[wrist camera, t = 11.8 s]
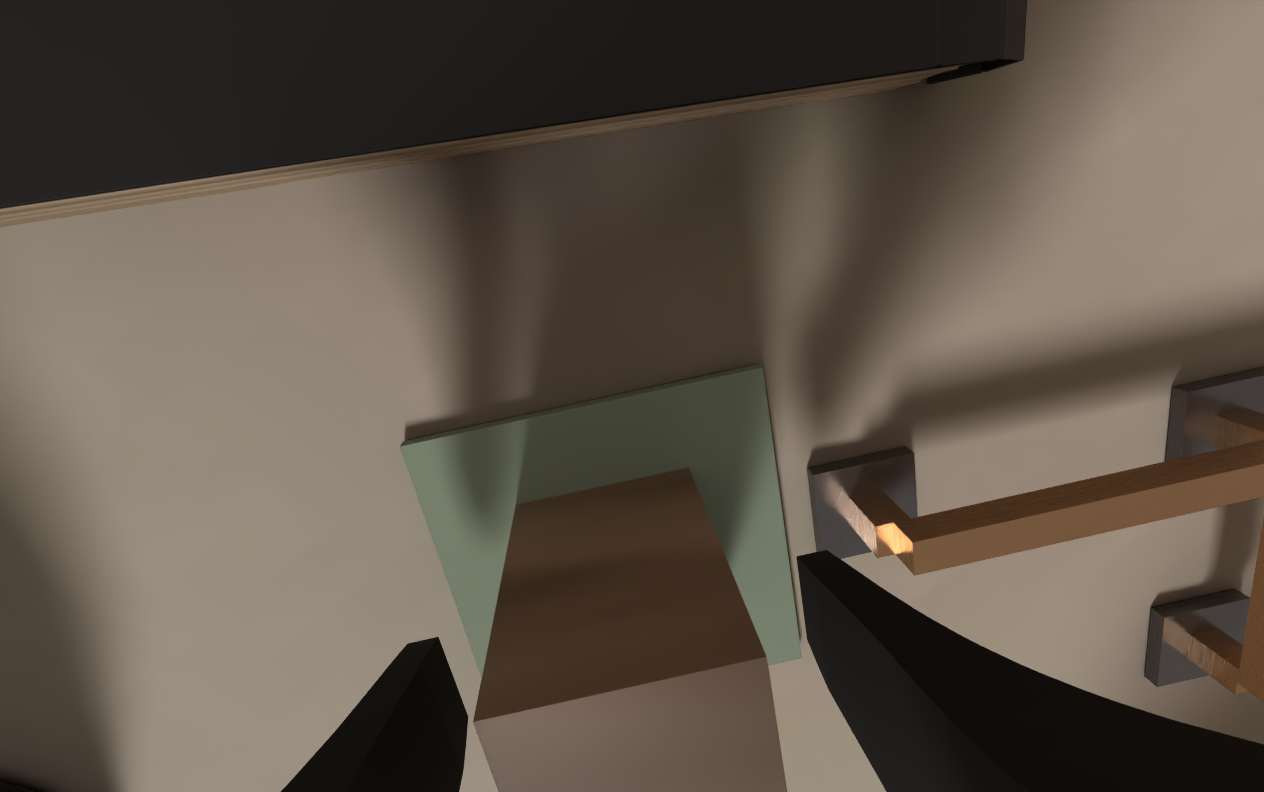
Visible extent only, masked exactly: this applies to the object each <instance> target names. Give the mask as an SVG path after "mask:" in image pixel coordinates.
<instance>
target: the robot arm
mask: <svg viewBox="0 0 1264 792" xmlns="http://www.w3.org/2000/svg"><path fill="white" fill-rule="evenodd" d="M797 564H798V572H799V579H800V587H801V595H802V603H803V610H804V618H805V626H806V633H807V640H808V642H809V645H810V647H811V650H812V652H813V655H814V657H815V659H816V662H817V664H818V666H819V669H820V671H821V673H822V676H823V678H824V680H825V683H826V685H827V687H828V689H829V691H830V693H831V694H832V696H833V698H834V700H835V702H836V703H837V705H838V707H839V709H840V711H841V712H842V714H843V716H844V718H845V719H846V721H847V723H848V725H849V727H850V728H851V730H852V732H853V734H854V735H855V737H856V739H857V741H858V742H859V744H860V746H861V748H862V749H863V751H864V753H865V755H866V756H867V758H868V760H869V762H870V763H871V765H872V767H873V769H874V770H875V772H876V774H877V776H878V777H879V779H880V781H881V783H882V784H883V786H884V788H885V790H886V791H887V792H1264V745H1263V744H1260V743H1256V742H1252V741H1248V740H1245V739H1241V738H1237V737H1233V736H1230V735H1226V734H1222V733H1218V732H1215V731H1211V730H1207V729H1204V728H1200V727H1196V726H1192V725H1189V724H1185V723H1181V722H1178V721H1174V720H1171V719H1168V718H1164V717H1161V716H1158V715H1155V714H1152V713H1149V712H1146V711H1143V710H1140V709H1137V708H1133V707H1130V706H1127V705H1124V704H1121V703H1118V702H1115V701H1112V700H1110V699H1107V698H1104V697H1101V696H1098V695H1096V694H1093V693H1090V692H1087V691H1084V690H1082V689H1079V688H1077V687H1074V686H1072V685H1069V684H1067V683H1064V682H1062V681H1059V680H1057V679H1054V678H1052V677H1049V676H1047V675H1044V674H1041V673H1039V672H1037V671H1034V670H1032V669H1030V668H1028V667H1025V666H1023V665H1021V664H1018V663H1016V662H1014V661H1012V660H1010V659H1008V658H1006V657H1003V656H1001V655H999V654H997V653H995V652H993V651H991V650H989V649H987V648H985V647H982V646H980V645H978V644H976V643H974V642H972V641H971V640H969V639H967V638H965V637H963V636H961V635H959V634H957V633H955V632H954V631H952V630H950V629H948V628H947V627H945V626H943V625H941V624H939V623H938V622H936V621H934V620H932V619H931V618H929V617H927V616H925V615H924V614H922V613H920V612H919V611H917V610H916V609H914V608H912V607H911V606H909V605H908V604H906V603H904V602H903V601H901V600H900V599H898V598H897V597H895V596H893V595H892V594H890V593H889V592H887V591H886V590H884V589H883V588H881V587H880V586H878V585H877V584H875V583H874V582H872V581H871V580H870V579H868V578H867V577H865V576H864V575H862V574H861V573H859V572H858V571H857V570H855V569H854V568H852V567H851V566H849V565H848V564H847V563H845V562H844V561H842V560H841V559H839V558H838V557H836V556H835V555H833V554H832V553H830V552H829V551H828V550H824V551H819V552H815V553H810V554H806V555H801V556H797ZM467 724H468V715H467V712H466V710H465V707H464V704H463V702H462V699H461V696H460V694H459V691H458V688H457V685H456V683H455V680H454V677H453V675H452V672H451V669H450V667H449V664H448V661H447V659H446V656H445V653H444V651H443V648H442V645H441V643H440V640H439V637H436V638H431V639H427V640H422V641H418V642H413V643H409V644H407V645H406V646H405V648H404V649H403V650H402V651H401V652H400V653H399V654H398V656H397V657H396V658H395V659H394V660H393V662H392V663H391V664H390V665H389V666H388V668H387V669H386V670H385V671H384V673H383V674H382V675H381V676H380V678H379V679H378V680H377V681H376V682H375V684H374V685H373V686H372V687H371V689H370V690H369V691H368V692H367V694H366V695H365V696H364V697H363V698H362V700H361V701H360V702H359V703H358V704H357V706H356V707H355V708H354V709H353V710H352V712H351V713H350V714H349V715H348V717H347V718H346V719H345V720H344V721H343V723H342V724H341V725H340V726H339V727H338V729H337V730H336V731H335V732H334V733H333V734H332V736H331V737H330V738H329V739H328V740H327V741H326V742H325V743H324V744H323V746H322V747H321V748H320V749H319V750H318V751H317V752H316V753H315V755H314V756H313V757H312V758H311V759H310V760H309V761H308V762H307V764H306V765H305V766H304V767H303V768H302V769H301V770H300V771H299V772H298V774H297V775H296V776H295V777H294V778H293V779H292V780H291V781H290V782H289V784H288V785H287V786H286V787H285V788H284V789H283V790H282V791H281V792H459V789H460V785H461V780H462V775H463V768H464V759H465V749H466V737H467Z"/></svg>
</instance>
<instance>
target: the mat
mask: <svg viewBox="0 0 1264 792" xmlns="http://www.w3.org/2000/svg"><path fill="white" fill-rule="evenodd" d="M400 448H401V451H402V454H403V457H404V460H405V463H406V465H407V468H408V471H409V474H410V477H411V479H412V482H413V485H414V488H415V491H416V494H417V496H418V499H419V502H420V505H421V508H422V510H423V513H424V516H425V519H426V522H427V525H428V527H429V530H430V533H431V536H432V539H433V542H434V544H435V547H436V550H437V553H438V556H439V558H440V561H441V564H442V567H443V570H444V573H445V575H446V578H447V581H448V584H449V587H450V589H451V592H452V595H453V598H454V601H455V604H456V606H457V609H458V612H459V615H460V618H461V620H462V623H463V626H464V629H465V632H466V635H467V637H468V640H469V643H470V646H471V649H472V651H473V654H474V657H475V660H476V663H477V666H478V668H479V671H480V674H481V677H482V675H483V670H484V664H485V659H486V654H487V649H488V644H489V639H490V634H491V629H492V624H493V618H494V613H495V608H496V603H497V598H498V593H499V588H500V583H501V578H502V572H503V567H504V562H505V557H506V552H507V547H508V542H509V537H510V531H511V526H512V521H513V516H514V511H515V506H516V505H517V504H522V503H526V502H531V501H536V500H540V499H545V498H549V497H554V496H559V495H563V494H568V493H573V492H577V491H582V490H587V489H591V488H596V487H600V486H605V485H610V484H614V483H619V482H624V481H628V480H633V479H637V478H642V477H647V476H651V475H656V474H661V473H665V472H670V471H675V470H679V469H684V468H688V467H689V469H690V471H691V474H692V476H693V479H694V481H695V483H696V486H697V488H698V491H699V493H700V496H701V498H702V500H703V503H704V505H705V508H706V510H707V513H708V515H709V517H710V520H711V522H712V525H713V527H714V530H715V532H716V535H717V537H718V539H719V542H720V544H721V547H722V549H723V552H724V554H725V556H726V559H727V561H728V564H729V566H730V569H731V571H732V574H733V576H734V578H735V581H736V583H737V586H738V588H739V591H740V593H741V595H742V598H743V600H744V603H745V605H746V608H747V610H748V612H749V615H750V617H751V620H752V622H753V625H754V627H755V630H756V632H757V634H758V637H759V639H760V642H761V644H762V647H763V649H764V651H765V654H766V656H767V662H768V665H772V664H777V663H781V662H786V661H790V660H794V659H799V658H802V655H801V647H800V640H799V633H798V625H797V618H796V610H795V603H794V595H793V588H792V581H791V573H790V566H789V558H788V551H787V544H786V536H785V529H784V521H783V514H782V507H781V499H780V492H779V484H778V477H777V470H776V462H775V455H774V447H773V440H772V433H771V425H770V418H769V410H768V403H767V395H766V388H765V381H764V373H763V367H762V366H761V365H760V364H755V365H751V366H746V367H742V368H737V369H732V370H728V371H723V372H719V373H714V374H709V375H705V376H700V377H696V378H691V379H687V380H682V381H677V382H673V383H668V384H664V385H659V386H654V387H650V388H645V389H641V390H636V391H632V392H627V393H622V394H618V395H613V396H609V397H604V398H599V399H595V400H590V401H586V402H581V403H577V404H572V405H567V406H563V407H558V408H554V409H549V410H544V411H540V412H535V413H531V414H526V415H522V416H517V417H512V418H508V419H503V420H499V421H494V422H489V423H485V424H480V425H476V426H471V427H467V428H462V429H457V430H453V431H448V432H444V433H439V434H434V435H430V436H425V437H421V438H416V439H412V440H407V441H403V443H402V444H401V446H400Z"/></svg>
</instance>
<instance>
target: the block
mask: <svg viewBox="0 0 1264 792" xmlns="http://www.w3.org/2000/svg"><path fill="white" fill-rule="evenodd" d="M473 723H474V726H475V728H476V731H477V734H478V737H479V739H480V742H481V745H482V748H483V750H484V753H485V756H486V759H487V761H488V764H489V767H490V770H491V772H492V775H493V778H494V780H495V783H496V786H497V789H498V791H499V792H787V787H786V781H785V774H784V768H783V761H782V754H781V748H780V741H779V735H778V728H777V721H776V715H775V708H774V702H773V695H772V689H771V682H770V675H769V669H768V662H767V656H766V654H765V651H764V649H763V647H762V644H761V642H760V639H759V637H758V634H757V632H756V630H755V627H754V625H753V622H752V620H751V617H750V615H749V612H748V610H747V608H746V605H745V603H744V600H743V598H742V595H741V593H740V591H739V588H738V586H737V583H736V581H735V578H734V576H733V574H732V571H731V569H730V566H729V564H728V561H727V559H726V556H725V554H724V552H723V549H722V547H721V544H720V542H719V539H718V537H717V535H716V532H715V530H714V527H713V525H712V522H711V520H710V517H709V515H708V513H707V510H706V508H705V505H704V503H703V500H702V498H701V496H700V493H699V491H698V488H697V486H696V483H695V481H694V479H693V476H692V474H691V471H690V469H689V467H688V468H684V469H679V470H675V471H670V472H665V473H661V474H656V475H651V476H647V477H642V478H637V479H633V480H628V481H624V482H619V483H614V484H610V485H605V486H600V487H596V488H591V489H587V490H582V491H577V492H573V493H568V494H563V495H559V496H554V497H549V498H545V499H540V500H536V501H531V502H526V503H522V504H517V505H516V506H515V511H514V516H513V521H512V526H511V531H510V537H509V542H508V547H507V552H506V557H505V562H504V567H503V572H502V578H501V583H500V588H499V593H498V598H497V603H496V608H495V613H494V618H493V624H492V629H491V634H490V639H489V644H488V649H487V654H486V659H485V664H484V670H483V675H482V680H481V685H480V690H479V695H478V700H477V705H476V711H475V716H474V721H473Z"/></svg>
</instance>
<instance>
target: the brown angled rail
mask: <svg viewBox="0 0 1264 792" xmlns="http://www.w3.org/2000/svg"><path fill="white" fill-rule="evenodd" d="M807 473H808V481H809V490H810V499H811V507H812V516H813V524H814V533H815V541H816V550H817V552H819V551H824V550H828V551H829V552H830V553H832V554H833V555H835V556H836V557H838V558H839V559H842V558H846V557H850V556H855V555H859V554H864V553H868V552H873V553H874V554H875V555H876V557H877V558H880V557H884V556H889V555H893V554H896V555H897V556H898V558H899V559H900V560H901V561H902V562H903V563H904V564H905V565H906V567H907V568H908V569H909V570H910V571H911V572H912V573H913V575H919V574H923V573H928V572H932V571H937V570H941V569H945V568H950V567H954V566H959V565H963V564H968V563H972V562H976V561H981V560H985V559H990V558H994V557H999V556H1003V555H1007V554H1012V553H1016V552H1021V551H1025V550H1030V549H1034V548H1039V547H1043V546H1047V545H1052V544H1056V543H1061V542H1065V541H1070V540H1074V539H1078V538H1083V537H1087V536H1092V535H1096V534H1101V533H1105V532H1109V531H1114V530H1118V529H1123V528H1127V527H1132V526H1136V525H1140V524H1145V523H1149V522H1154V521H1158V520H1163V519H1167V518H1171V517H1176V516H1180V515H1185V514H1189V513H1194V512H1198V511H1203V510H1207V509H1211V508H1216V507H1220V506H1225V505H1229V504H1234V503H1238V502H1242V501H1247V500H1251V499H1256V498H1260V497H1264V367H1261V368H1256V369H1252V370H1247V371H1243V372H1238V373H1234V374H1229V375H1225V376H1220V377H1216V378H1211V379H1207V380H1202V381H1198V382H1193V383H1189V384H1184V385H1180V386H1175V387H1172V397H1171V408H1170V418H1169V428H1168V439H1167V449H1166V460H1165V462H1162V463H1157V464H1153V465H1148V466H1144V467H1139V468H1135V469H1131V470H1126V471H1122V472H1117V473H1113V474H1108V475H1104V476H1099V477H1095V478H1090V479H1086V480H1081V481H1077V482H1072V483H1068V484H1064V485H1059V486H1055V487H1050V488H1046V489H1041V490H1037V491H1032V492H1028V493H1023V494H1019V495H1014V496H1010V497H1005V498H1001V499H996V500H992V501H988V502H983V503H979V504H974V505H970V506H965V507H961V508H956V509H952V510H947V511H943V512H938V513H934V514H929V515H925V516H921V517H917V501H916V482H915V463H914V453H913V452H912V451H911V450H909V449H908V448H907V447H905V446H904V447H900V448H895V449H891V450H886V451H882V452H877V453H873V454H868V455H864V456H859V457H855V458H850V459H846V460H841V461H837V462H832V463H828V464H823V465H819V466H814V467H810V468H807ZM1249 604H1250V606H1249ZM1248 611H1249V612H1248ZM1247 617H1248V618H1247ZM1246 623H1247V624H1246ZM1245 629H1246V631H1245ZM1244 636H1245V637H1244ZM1243 642H1244V643H1243ZM1207 675H1210V676H1211V677H1213V678H1214V679H1215V680H1217V681H1218V682H1219V683H1221V684H1222V685H1223V686H1225V687H1226V688H1227V689H1229V690H1230V691H1231V692H1233V693H1234V694H1235V695H1236V694H1240V693H1244V692H1251V693H1252V694H1253V695H1255V696H1256V697H1257V698H1259V699H1260V700H1262V701H1263V702H1264V518H1263V524H1262V531H1261V537H1260V543H1259V549H1258V556H1257V562H1256V568H1255V574H1254V581H1253V587H1252V593H1251V599H1250V597H1248V596H1246V595H1245V594H1243V593H1241V592H1240V591H1238V590H1236V589H1233V590H1228V591H1224V592H1220V593H1215V594H1211V595H1206V596H1202V597H1198V598H1193V599H1189V600H1185V601H1180V602H1176V603H1171V604H1167V605H1163V606H1158V607H1154V608H1151V615H1150V626H1149V636H1148V647H1147V657H1146V667H1145V677H1146V678H1147V679H1148V680H1150V681H1151V682H1152V683H1153V684H1154V685H1155V686H1157V687H1159V686H1163V685H1168V684H1172V683H1176V682H1181V681H1185V680H1189V679H1194V678H1198V677H1202V676H1207Z"/></svg>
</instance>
